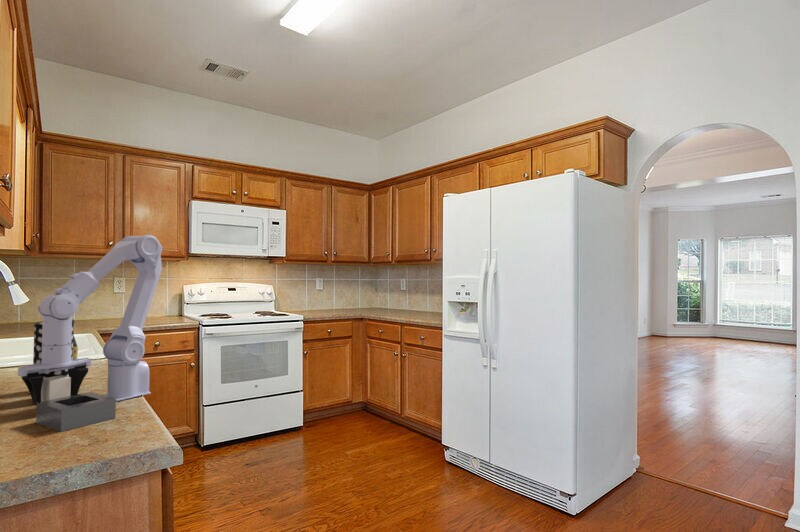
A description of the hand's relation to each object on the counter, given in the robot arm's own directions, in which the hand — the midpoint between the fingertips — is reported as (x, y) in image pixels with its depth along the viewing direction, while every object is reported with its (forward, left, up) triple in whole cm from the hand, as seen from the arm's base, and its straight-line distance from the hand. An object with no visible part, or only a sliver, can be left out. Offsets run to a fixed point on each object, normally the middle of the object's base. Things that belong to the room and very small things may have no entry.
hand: (55, 401), depth 111 cm
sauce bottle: (-12, -23, -3) cm, 26 cm away
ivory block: (0, 0, -2) cm, 2 cm away
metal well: (+1, +12, -2) cm, 12 cm away
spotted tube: (-5, -13, -3) cm, 14 cm away
